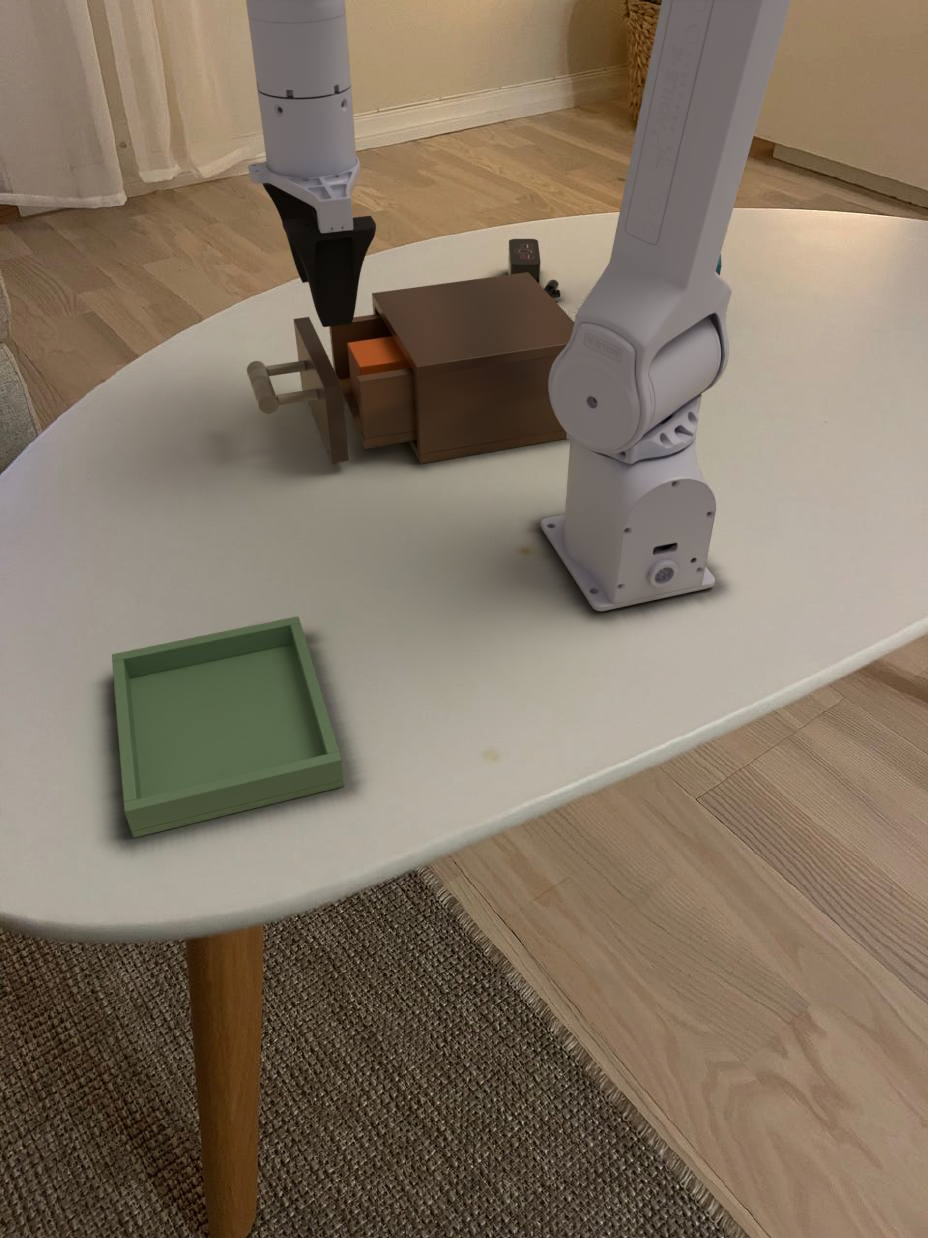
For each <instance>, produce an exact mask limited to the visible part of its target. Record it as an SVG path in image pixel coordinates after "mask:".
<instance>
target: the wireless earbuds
mask: <svg viewBox="0 0 928 1238" xmlns="http://www.w3.org/2000/svg"><path fill="white" fill-rule="evenodd" d="M507 257H508V259H507V261H508V263H507V271H508V274H507V275H511V274H518V273H526V272H528V273H529V274H530V275H531V276H532V277H533V278H534V279H535V280H536V281H537V282H538V284H539V285H540V286H541V283H540V282H541V254H540V246H539V241H538V239H536V238H512V239H509V240H508V255H507ZM558 288H559V282H558V281H557V280H556V279H550V280H548V282H547V283H546V285H545V287H544V288H543V289H544V290H545V291H546V292H547V293H548V294H549V295H550V296H551V298H552V299H559V298H561V290H560V289H558Z"/></svg>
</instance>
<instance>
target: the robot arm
mask: <svg viewBox="0 0 928 1238" xmlns="http://www.w3.org/2000/svg"><path fill="white" fill-rule="evenodd" d="M245 4H246V12H247V19H248V26H249V27H248V28H249V33H250V34H249V35H250V42H251V50H252V51H251V52H252V57H253V66H254V67H253V68H254V73H255V83H256V89H257V91H256V92H257V97H258V105H259V112H260V121H261V129H262V136H263V145H264V153H265V161H261V162H255V163H251V164H249V165H248V167H247V169H248V175H249V178H250V180H251V182H252V183H253V184H257V185H259V184H260V185H261V184H262V187H263V188H264V190H265V191H266V193H267V194H268V196H269V198H270V199H271V201H272V203H273V204H274V206H275V207H276V210H277V212H278V215H279V218H280V220H281V224H282V228H283V230H284V232H285V234H286V239H287V242H288V245H289V249H290V252H291V256H292V260H293V262H294V263H293V264H294V265H295V269H296V271H297V274H298V277H299V278H300V281H301V283H302V284H307V283H308V286H309V291H310V294H311V299H312V302H313V305H314V309H315V312H316V314H317V317H318V319H319V322H320V325H321V326H322V327H323V328H329V327H330V326H337V325H344V324H351V323H352V321H353V317H355V312H356V305H357V298H358V290H359V283H360V278H361V277H360V276H361V272H362V268H363V265H364V262H365V258H366V255H367V254H368V250H369V249H370V246H371V245H372V242H373V240H374V239H375V236H376V231H377V224H376V221H375V220H374V218H373V217H372V216H371V215H364V216H355V217H353V205H352V196H353V193H354V191H355V189H356V185H357V183H358V180H359V178H360V176H361V162H360V159H359V158H358V156H357V150H356V149H357V148H356V136H355V122H354V107H353V91H352V82H351V81H352V80H351V68H350V67H351V66H350V54H349V40H348V39H349V38H348V26H347V25H348V24H347V11H346V10H347V9H346V0H245ZM791 4H792V0H661V3H660V9H659V13H658V19H657V23H656V29H655V32H654V33H655V34H654V38H653V44H652V49H651V53H650V59H649V64H648V68H647V73H646V77H645V83H644V88H643V93H642V98H641V104H640V109H639V114H638V119H637V122H636V123H637V124H636V128H635V132H634V133H635V134H634V137H633V142H632V143H633V144H632V148H631V153H630V159H629V164H628V167H627V168H628V169H627V174H626V178H625V184H624V188H623V194H622V198H621V204H620V208H619V213H618V219H617V224H616V229H615V234H614V239H613V244H612V249H611V253H610V258H609V262H608V264H607V265H606V267H605V269H604V270H603V272H602V274H601V275H600V277H599V278H598V280H597V281H596V282H595V284H594V286H593V287H592V289H591V290H590V291H589V292H588V294H587V296H586V298H585V299H584V301H583V302H582V303H581V305H580V307H579V308H578V309H577V312H576V314H575V317H574V327H573V331H572V335H571V338H570V340H569V342H568V344H567V345H566V347H565V348H564V349H563V350H562V352H561V353H560V354H559V355H558V356H557V357H556V359H555V361H554V363H553V364H552V367H551V370H550V374H549V380H548V390H549V397H550V401H551V405H552V408H553V411H554V413H555V415H556V417H557V419H558V421H559V423H560V424H561V426H562V427H563V428H564V430H565V431H566V432H567V437H566V439H567V440H568V441H569V452H568V464H567V465H568V466H567V479H566V480H567V481H566V493H565V507H564V514H559V515H553V516H549V517H544V518H542V519H541V521H540V528H541V530H542V531H543V533H544V535H545V536H546V538H547V540H548V541H549V542H550V544H551V545H552V547H553V548H554V550H555V552H556V554H558V557H559V558H560V560H561V561H562V562H563V564H564V565H565V568H566V569H567V570H568V572H569V573H570V575H571V576H572V578H573V580H574V581H575V583H576V585H577V586H578V587H579V589H580V590H581V592H582V593H583V595H584V597H585V599H586V601H588V603H589V605H590V606H591V608H592V609H593V610H595V611H597V612H605V611H609V610H615V609H620V608H624V607H628V606H634V605H638V604H642V603H647V602H651V601H655V600H661V599H664V598H665V599H666V598H670V597H674V596H678V595H679V596H680V595H683V594H687V593H692V592H697V591H701V590H706V589H710V588H713V587H714V586H715V584H716V578H715V576H714V575H713V573H712V572H711V571H710V570H709V569H708V567H707V566H706V565H707V561H708V556H709V550H710V544H711V540H712V534H713V530H714V524H715V519H716V513H717V500H716V496H715V494H714V491H713V489H712V488H711V486H710V485H709V483H708V482H707V480H706V478H705V477H704V475H703V473H702V470H701V467H700V465H699V462H698V461H699V460H698V456H697V450H696V448H697V434H698V433H697V432H698V427H699V413H700V408H701V404H702V403H701V402H702V396H703V395H702V394H704V393H705V392H707V391H708V390H710V389H711V388H712V387H714V386H715V385H716V384H718V382H719V380H721V378H722V376H723V374H724V373H725V371H726V369H727V365H728V362H729V357H730V342H729V336H728V330H727V312H728V307H729V303H730V300H731V296H732V288H731V287H730V285H729V284H728V283H727V282H726V281H725V279H724V278H722V277H721V275H720V276H719V275H718V274H717V272H716V268H717V264H718V261H719V257H720V254H721V255H722V250H723V247H724V242H725V239H726V236H727V232H728V228H729V225H730V222H731V218H732V214H733V211H734V207H735V203H736V200H737V196H738V193H739V189H740V185H741V182H742V179H743V174H744V172H745V169H746V164H747V160H748V157H749V153H750V150H751V147H752V143H753V139H754V136H755V133H756V129H757V125H758V121H759V118H760V114H761V110H762V107H763V104H764V100H765V97H766V93H767V89H768V85H769V82H770V78H771V74H772V71H773V68H774V64H775V60H776V57H777V54H778V50H779V47H780V43H781V39H782V36H783V32H784V29H785V24H786V22H787V21H786V20H787V17H788V14H789V10H790V7H791Z"/></svg>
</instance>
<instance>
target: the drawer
mask: <svg viewBox="0 0 928 1238" xmlns="http://www.w3.org/2000/svg"><path fill="white" fill-rule="evenodd" d="M293 326H294V327H293V328H294V334H295V342H296V343H295V344H296V352H297V359H298V360H296V361H291V362H285V363H278V364H271V365H265V363H264V362H262V361H259V360H253V361H251V362H250V363H249V364H247V366H246V367H247V368H246V373H247V376H248V379H249V382H250V385H251V389H252V391H253V395H254V397H255V400H256V404H257V406H258V409H259V410H260V412H261V413H263V414H266V415H271V414H274V413H275V412H277V411H278V409H279V406H280V407H281V406H286V405H291V404H299V403H307V405H308V407H309V410H310V412H311V415H312V417H313V420H314V422H315V424H316V427H317V430H318V432H319V434H320V436H321V439H322V442H323V444H324V447H325V448H326V452H327V454H328V456H329V458H330V460H331V463H332V464H339V463H344V462H348V461H350V455H349V454H350V453H349V446H348V435H347V434H348V433H347V423H346V414H345V413H346V411H347V413H348V416H349V418H350V420H351V422H352V425H353V426H354V428H355V431H356V433H357V435H358V438H359V439H360V442H361V444H362V446H363V448H364V449H372V448H377V447H384V446H389V445H395V444H401V443H409V441H413V440H417V431H416V407H415V383H414V371H413V369H412V368H407V369H401V370H394V371H388V372H381V373H375V374H368V375H362V376H357V387H358V399H359V406H358V404H357V402H356V400H355V398H354V396H353V394H352V391H351V380H350V368H349V357H348V345H347V343H350V342H357V341H364V340H370V339H377V338H384V337H391V336H392V334H391V333H390V331H389V329H388V328H387V326H386V324H385V323H384V321H383V319H382V318H381V316H380V314H374V315H373V314H367V315H360V316H354V317H353V321H352V323H351V324H344V325H337V326H330V327H328V329H329V340H330V349H331V358H332V362H331V360H330V358H329V356H328V354H327V352H326V350H325V347H324V345H323V343H322V341H321V339H320V337H319V335H318V333H317V331H316V328H315V326H314V324H313V322H312V320H311V318H310V316H305V317H299V318H297V317H296V318H293ZM295 373H299V375H300V384H301V390H297V391H291V392H285V393H284V392H283V393H278V394H276V391H275V389H274V386H273V382H272V380H271V378H270V377H273V376H281V375H287V374H288V375H289V374H295ZM345 410H346V411H345Z"/></svg>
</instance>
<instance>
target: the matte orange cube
mask: <svg viewBox="0 0 928 1238" xmlns="http://www.w3.org/2000/svg"><path fill="white" fill-rule="evenodd" d="M347 345H348V357H349V368H350V380H351V391H352V394H353V396H354V398H355V400H356V402H357V404H358V406H359V399H358V387H357V376H362V375H368V374H375V373H381V372H388V371H394V370H401V369H407V368H411V366H410V364H409V363H408V361H407V359H406V358H405V356H404V354H403V353H402V351H401V349H400V348H399V346H398V344H397V343H396V341H395V339H394V338H393V336H391V337H384V338H377V339H370V340H364V341H357V342H350V343H347Z"/></svg>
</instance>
